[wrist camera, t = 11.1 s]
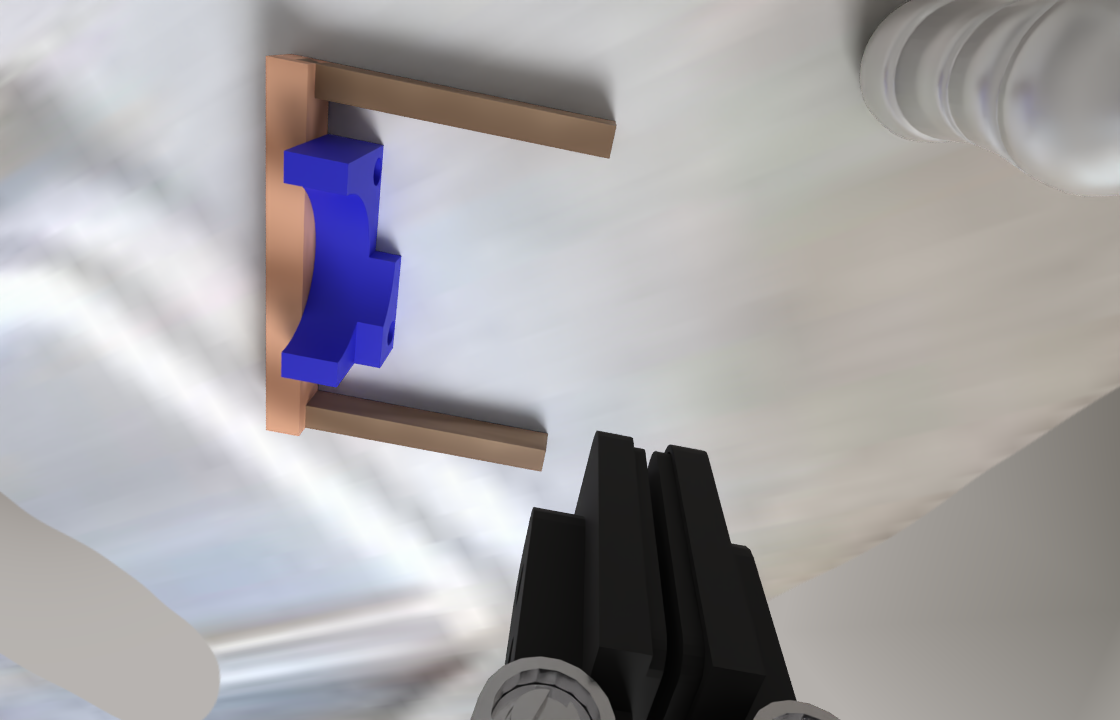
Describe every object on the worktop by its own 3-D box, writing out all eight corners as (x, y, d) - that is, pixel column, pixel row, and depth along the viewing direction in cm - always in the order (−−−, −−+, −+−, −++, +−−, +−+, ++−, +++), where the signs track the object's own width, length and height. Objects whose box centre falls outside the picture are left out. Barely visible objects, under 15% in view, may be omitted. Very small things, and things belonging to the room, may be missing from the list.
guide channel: (291, 53, 35) (265, 55, 32) (615, 121, 36) (616, 128, 33) (286, 405, 44) (266, 430, 41) (543, 453, 45) (540, 480, 42)
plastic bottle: (920, -42, 32) (1345, -138, 14) (1014, 54, 33) (1506, 79, 15) (818, 78, 34) (1066, 128, 16) (910, 161, 36) (1229, 293, 18)
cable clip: (393, 346, 42) (364, 392, 37) (321, 332, 42) (281, 376, 37) (412, 150, 37) (380, 170, 31) (329, 133, 37) (283, 150, 31)
